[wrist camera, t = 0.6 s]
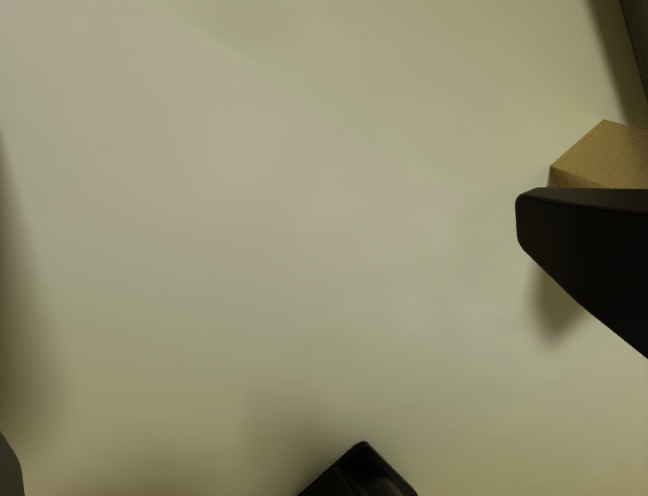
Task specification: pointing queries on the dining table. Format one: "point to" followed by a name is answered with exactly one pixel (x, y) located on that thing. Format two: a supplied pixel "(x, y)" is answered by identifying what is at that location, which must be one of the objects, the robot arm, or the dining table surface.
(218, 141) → the dining table surface
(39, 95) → the dining table surface
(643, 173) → the wooden peg
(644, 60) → the grey peg hole board
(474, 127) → the dining table surface
